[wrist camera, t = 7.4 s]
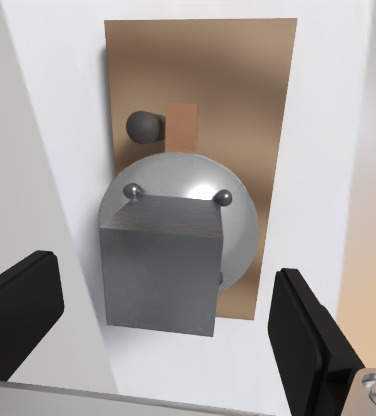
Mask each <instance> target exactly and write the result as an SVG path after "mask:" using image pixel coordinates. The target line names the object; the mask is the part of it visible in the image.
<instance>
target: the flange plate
mask: <svg viewBox="0 0 376 416" xmlns="http://www.w3.org/2000/svg"><path fill="white" fill-rule="evenodd" d="M198 114H199V106H198V104H184V103H166V129H165V151H162V152H158V153H155V154H152V155H150V156H147V157H145V158H143V159H141V160H138V161H136V162H134V163H133V164H131V165H130V166H128V167H127V168H125V169H124V170H123V171H122V172H121V173H119V174H118V175H117V177H116V178H115V179H114V180H113V181H112V182H111V184H110V186H109V187H108V189H107V190H106V192H105V195H104V197H103V199H102V202H101V206H100V210H99V217H98V228H99V235H100V243H101V256H102V268H103V281H104V293H105V306H106V318H107V325H114V326H123V327H131V328H140V329H148V330H157V331H165V332H174V333H182V334H191V335H199V336H208V337H213V333H214V324H215V314H216V305H217V296H218V293H221V292H222V291H224V290H226V289H228V288H229V287H230V286H232V285H233V284H234V283H236V282H237V281H238V280H239V279H240V278H241V277H242V276H243V274H244V273H245V272H246V270H247V269H248V268H249V266H250V264H251V262H252V261H253V258H254V256H255V253H256V250H257V246H258V242H259V221H258V216H257V211H256V209H255V206H254V203H253V201H252V199H251V197H250V195H249V193H248V192H247V190H246V188H245V186H244V185H243V183H242V182H241V180H240V179H239V178H238V177H237V176H236V174H235V173H234V172H233V171H232V170H231V169H229V168H228V167H227V166H225V165H224V164H223V163H221V162H220V161H218V160H216V159H214V158H212V157H210V156H208V155H205V154H202V153H199V152H196V147H197V130H198Z"/></svg>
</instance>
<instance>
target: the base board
mask: <svg viewBox="0 0 376 416" xmlns="http://www.w3.org/2000/svg"><path fill="white" fill-rule="evenodd" d="M104 24H105V38H106V51H107V64H108V78H109V91H110V104H111V118H112V131H113V144H114V157H115V171H116V177H117V175H118V174H119V173H121V172H122V171H123V170H124V169H125V168H127V167H128V166H130V165H131V164H133V163H134V162H136V161H138V160H141V159H143V158H145V157H147V156H150V155H152V154H155V153H158V152H162V151H165V129H166V103H184V104H198V106H199V114H198V130H197V147H196V152H199V153H202V154H205V155H208V156H210V157H212V158H214V159H216V160H218V161H220V162H221V163H223V164H224V165H225V166H227V167H228V168H229V169H231V170H232V171H233V172H234V173H235V174H236V176H237V177H238V178H239V179H240V180H241V182H242V183H243V185H244V186H245V188H246V190H247V192H248V193H249V195H250V197H251V199H252V201H253V203H254V206H255V209H256V211H257V216H258V221H259V242H258V246H257V250H256V253H255V256H254V258H253V261H252V262H251V264H250V266H249V268H248V269H247V270H246V272H245V273H244V274H243V276H242V277H241V278H240V279H239V280H238V281H237V282H236V283H234V284H233V285H232V286H230V287H229V288H228V289H226V290H224V291H222V292H221V293H218V296H217V305H216V314H215V317H222V318H233V319H244V320H254V315H255V308H256V301H257V294H258V287H259V280H260V273H261V266H262V260H263V253H264V246H265V239H266V232H267V225H268V218H269V211H270V204H271V198H272V191H273V184H274V177H275V170H276V163H277V156H278V149H279V142H280V135H281V129H282V122H283V115H284V108H285V101H286V94H287V87H288V80H289V73H290V67H291V60H292V53H293V46H294V39H295V32H296V25H297V18H276V19H187V20H104Z"/></svg>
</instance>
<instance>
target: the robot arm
mask: <svg viewBox="0 0 376 416" xmlns="http://www.w3.org/2000/svg"><path fill="white" fill-rule="evenodd" d="M63 312H64V300H63V294H62V287H61V280H60V273H59V267H58V260H57V256H56V255H54V253H53V252H51V251H40V250H39V251H38V250H37V251H35V252H34V253H32V254H30V255H29V256H28V257H26V258H24V259H23V260H21V261H20V262H18V263H17V264H15V265H14V266H12V267H11V268H9V269H8V270H6V271H5V272H3V273H2V274H0V416H274V415H267V414H260V413H253V412H246V411H240V410H233V409H226V408H218V407H210V406H202V405H195V404H187V403H179V402H171V401H163V400H155V399H148V398H140V397H132V396H123V395H115V394H106V393H99V392H90V391H82V390H74V389H65V388H57V387H48V386H40V385H32V384H23V383H14V382H7V380H8V379H9V378H10V377H11V376H12V374H13V373H14V372H15V371H16V370H17V368H18V367H19V366H20V365H21V364H22V362H23V361H24V360H25V359H26V358H27V356H28V355H29V354H30V353H31V352H32V350H33V349H34V348H35V347H36V346H37V344H38V343H39V342H40V341H41V340H42V338H43V337H44V336H45V335H46V334H47V332H48V331H49V330H50V329H51V328H52V326H53V325H54V324H55V323H56V322H57V320H58V319H59V318H60V317H61V315H62V314H63ZM268 335H269V339H270V342H271V346H272V349H273V353H274V356H275V360H276V363H277V366H278V370H279V373H280V377H281V380H282V384H283V387H284V391H285V394H286V398H287V401H288V405H289V408H290V412H291V415H292V416H376V369H374V368H365V366H364V364H363V363H362V361H361V360H360V358H359V357H358V355H357V354H356V353H355V351H354V349H353V348H352V346H351V345H350V344H349V342H348V340H347V339H346V337H345V336H344V335H343V333H342V332H341V330H340V328H339V327H338V325H337V324H336V322H335V321H334V319H333V318H332V316H331V315H330V313H329V312H328V310H327V309H326V308H325V307H324V306H323V305H321V304H320V303H319V301H318V300H317V298H316V297H315V295H314V294H313V292H312V290H311V289H310V287H309V286H308V284H307V283H306V281H305V280H304V278H303V277H302V275H301V274H300V272H299V270H298V269H290V268H282V269H281V271H277V272H276V276H275V282H274V288H273V295H272V301H271V308H270V314H269V321H268Z"/></svg>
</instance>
